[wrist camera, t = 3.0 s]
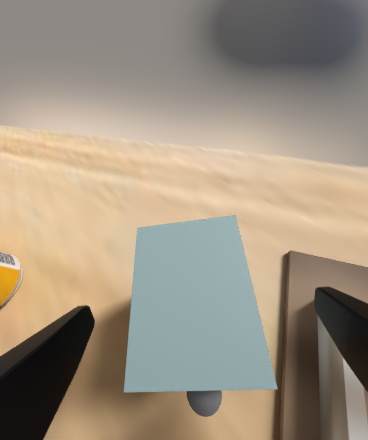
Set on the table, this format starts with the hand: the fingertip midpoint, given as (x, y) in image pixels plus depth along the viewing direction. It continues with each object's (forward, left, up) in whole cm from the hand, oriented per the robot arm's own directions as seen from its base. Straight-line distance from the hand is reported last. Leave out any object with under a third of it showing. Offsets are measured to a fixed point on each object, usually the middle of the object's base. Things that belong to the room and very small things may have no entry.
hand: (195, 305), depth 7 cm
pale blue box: (0, 0, -8) cm, 8 cm away
